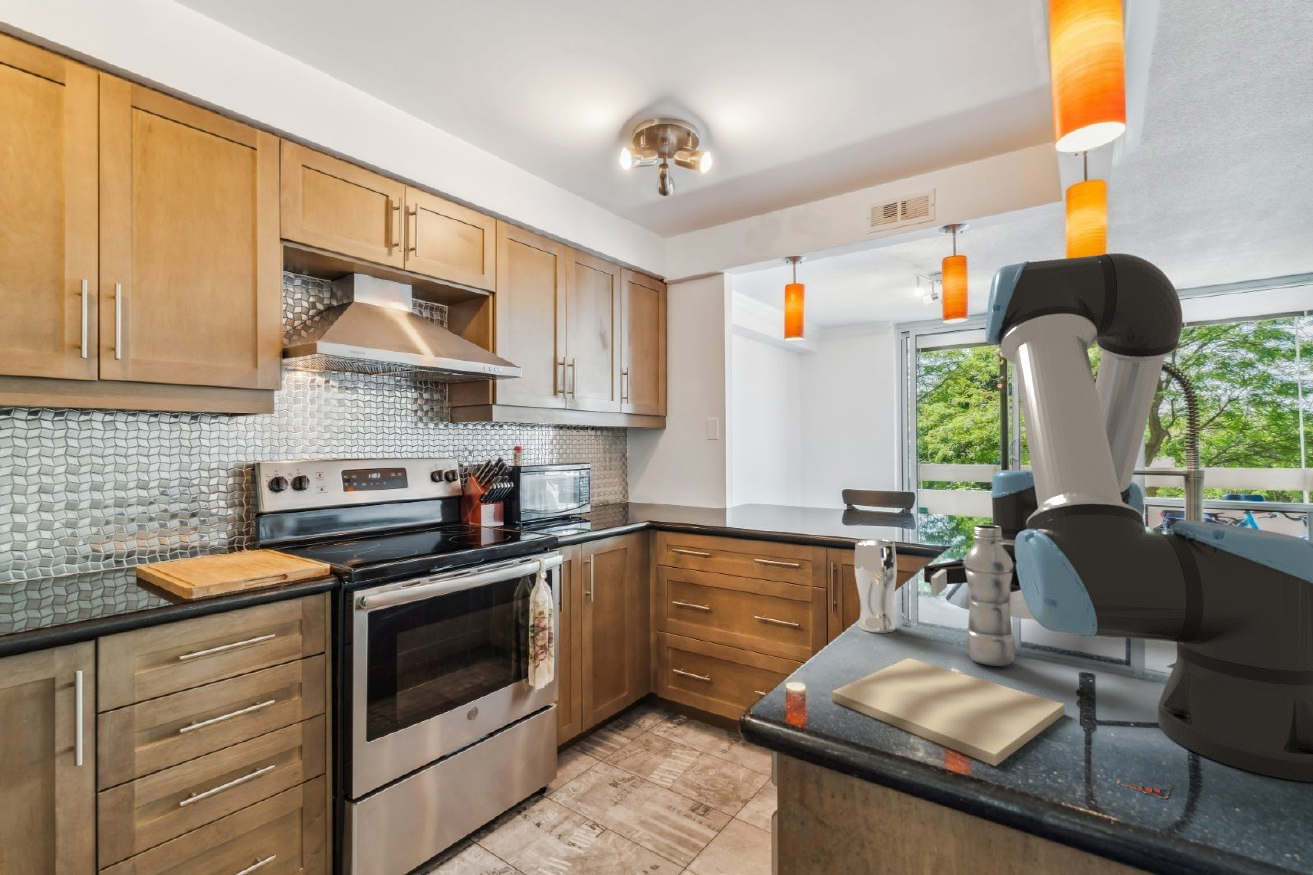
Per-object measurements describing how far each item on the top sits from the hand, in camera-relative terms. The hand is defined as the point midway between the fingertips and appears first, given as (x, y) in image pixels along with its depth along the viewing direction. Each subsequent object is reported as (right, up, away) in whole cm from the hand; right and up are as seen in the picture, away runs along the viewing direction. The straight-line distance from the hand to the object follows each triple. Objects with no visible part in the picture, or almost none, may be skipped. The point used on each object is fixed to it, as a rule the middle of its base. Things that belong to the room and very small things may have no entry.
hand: (984, 593), depth 87 cm
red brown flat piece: (0, -12, -28) cm, 30 cm away
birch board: (-11, -11, -11) cm, 19 cm away
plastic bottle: (+2, -11, +3) cm, 12 cm away
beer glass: (-8, -11, +20) cm, 24 cm away
